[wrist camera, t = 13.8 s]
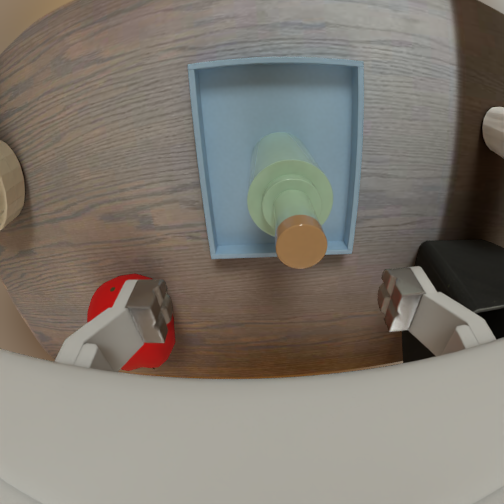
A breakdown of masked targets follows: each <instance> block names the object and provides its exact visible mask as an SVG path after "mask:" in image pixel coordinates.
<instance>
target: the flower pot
mask: <svg viewBox="0 0 504 504" xmlns="http://www.w3.org/2000/svg"><path fill="white" fill-rule="evenodd" d="M415 266H420V267H421V268H422V269H423V271H424V272H425V274H426V275H427V277H428V278H429V280H430V281H431V283H432V284H433V286H434V288H435V289H436V291H437V292H442V293H443V294H445V295H446V296H448V297H450V298H451V299H453V300H455V301H456V302H458V303H460V304H461V305H463V306H464V307H466V308H467V309H469V310H471V311H472V312H474V313H475V314H477V315H479V316H480V317H482V318H483V319H484V320H485V321H486V323H487V325H488V326H489V328H490V330H491V331H492V333H493V335H494V336H495V338H496V340H497V339H500V338H503V337H504V248H503V247H500V246H498V245H495V244H493V243H491V242H488V241H485V240H482V239H479V240H441V241H426V242H424V243H423V244H422V245H421V246H420V249H419V253H418V256H417V260H416V264H415ZM402 347H403V363H407V362H412V361H417V360H422V359H427V358H431V357H436V356H435V355H434V354H433V353H432V352H431V351H430V350H429V349H428V348H427V347H426V346H424V345H423V344H422V343H421V342H420V341H419V340H418V339H417V338H416V337H415V336H414V335H412V334H411V333H410V332H409V330H404V331H402Z"/></svg>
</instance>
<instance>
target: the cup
mask: <svg viewBox="0 0 504 504" xmlns="http://www.w3.org/2000/svg"><path fill="white" fill-rule="evenodd" d="M482 130H483V138H484V141H485V143H486V145H487V146H488V148H489V149H490V150H492V151H494V152H495V153H496V154H498V155H499V156H501V157H502V158H503V159H504V107H492V108H491V109H490V110H489V111H487V113H486V115H485V117H484V120H483V126H482Z"/></svg>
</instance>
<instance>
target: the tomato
mask: <svg viewBox="0 0 504 504" xmlns="http://www.w3.org/2000/svg"><path fill="white" fill-rule="evenodd" d="M139 279H152V278H149V277H145V276H142V275H139V274H129V275H122V276H118V277H116V278H114V279H112V280H110V281H107V282H105V283H104V284H102V285H101V286H100V287H99V288H98V289H97V290H96V292H95V293H94V295H93V297H92V299H91V302H90V306H89V309H88V317H87V323H88V322H90V321H91V320H92V319H94V318H95V317H96V316H98V315H99V314H101V313H102V312H103V311H105V310H106V309H107V308H112V307H113V304H114V302H115V300H116V299H117V297H118V295H119V293H120V291H121V289H122V287H123V285H124V283H125V281H127V280H139ZM167 328H168V333H167V336H166V340H165V343H144V345H143V346H142V347H141V348H140V349H139V350H138V351H137V352H136V353H135V354H134V355H133V356H132V357H131V358H130V359H129V360H128V361H127V363H126V364H125V365H124V366H123V367H122V368H121V369H122V370H126V371H130V370H133V369H137V368H140V367H147V368H153V369H155V367H159V366H160V365H162V364H163V363H164V362H165V361H166V360H167V359H168V357H169V355H170V353H171V351H172V349H173V347H174V344H175V332H174V319H173V313H172V318H171V321H170V322H169V323H168V324H167Z"/></svg>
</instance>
